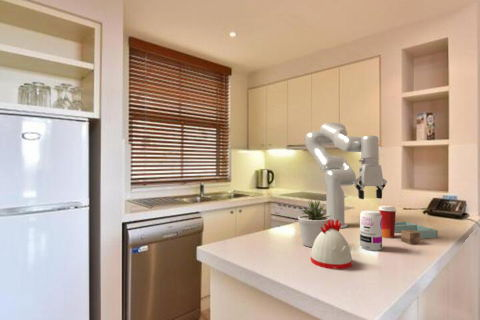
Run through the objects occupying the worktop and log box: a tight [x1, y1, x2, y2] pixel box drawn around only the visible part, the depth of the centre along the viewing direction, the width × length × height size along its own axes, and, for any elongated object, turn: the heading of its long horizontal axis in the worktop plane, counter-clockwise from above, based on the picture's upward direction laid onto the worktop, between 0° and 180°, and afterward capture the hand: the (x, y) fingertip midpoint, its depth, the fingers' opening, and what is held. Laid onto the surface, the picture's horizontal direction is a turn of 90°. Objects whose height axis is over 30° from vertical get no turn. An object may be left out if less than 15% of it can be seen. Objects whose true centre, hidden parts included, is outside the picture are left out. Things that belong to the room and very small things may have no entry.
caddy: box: [394, 221, 439, 240], centre depth 138 cm, size 15×19×4 cm
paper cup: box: [377, 205, 397, 239], centre depth 132 cm, size 8×8×14 cm
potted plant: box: [297, 198, 332, 248], centre depth 119 cm, size 13×14×20 cm
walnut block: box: [400, 230, 421, 246], centre depth 122 cm, size 5×5×5 cm
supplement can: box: [359, 209, 383, 252], centre depth 114 cm, size 8×8×15 cm
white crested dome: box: [310, 220, 353, 270], centre depth 99 cm, size 14×14×15 cm
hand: (370, 198), depth 131 cm, fingers open, 8 cm apart
